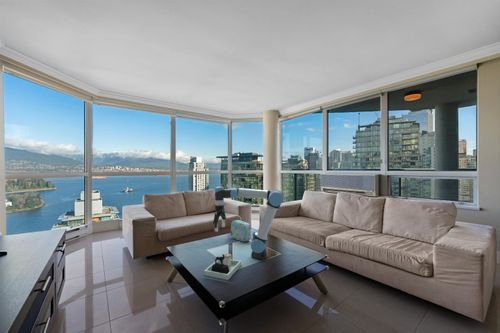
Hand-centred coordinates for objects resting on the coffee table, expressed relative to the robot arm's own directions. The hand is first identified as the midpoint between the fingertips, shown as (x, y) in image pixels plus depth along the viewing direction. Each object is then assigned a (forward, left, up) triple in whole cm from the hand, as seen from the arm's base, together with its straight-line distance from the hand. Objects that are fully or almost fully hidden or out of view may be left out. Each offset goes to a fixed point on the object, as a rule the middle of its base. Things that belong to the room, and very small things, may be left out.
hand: (220, 229), depth 183 cm
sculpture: (-10, +19, -28) cm, 35 cm away
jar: (-10, +7, -27) cm, 30 cm away
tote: (-10, +14, -28) cm, 33 cm away
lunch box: (+7, -56, -29) cm, 64 cm away
